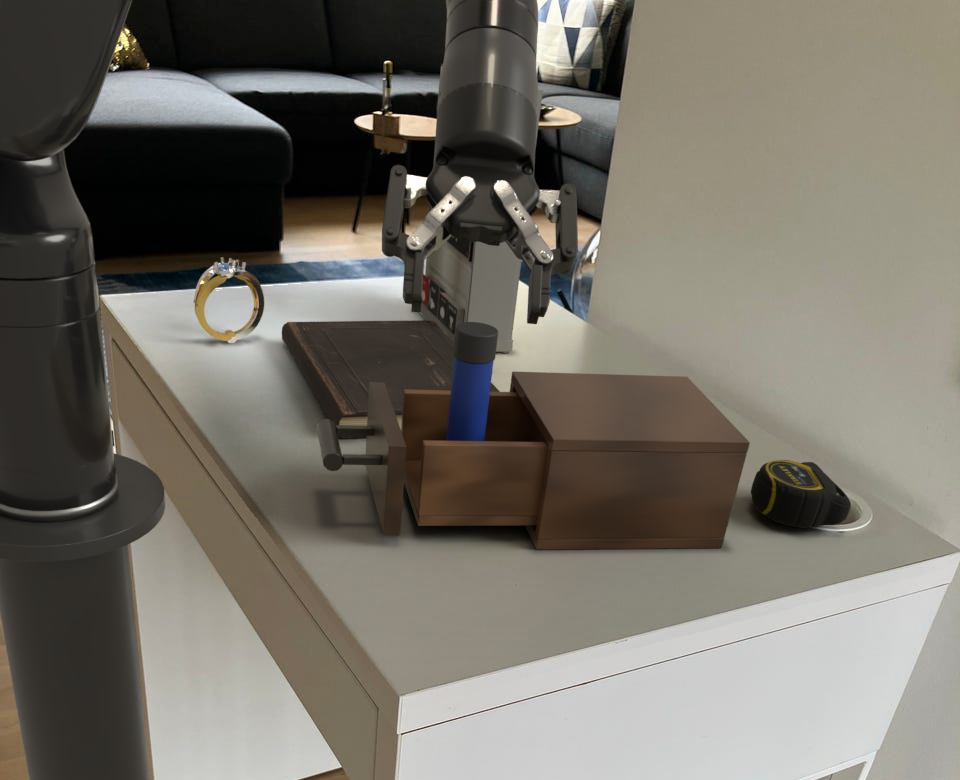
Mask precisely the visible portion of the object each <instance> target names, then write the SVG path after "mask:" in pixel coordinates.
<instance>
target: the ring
mask: <svg viewBox="0 0 960 780" xmlns="http://www.w3.org/2000/svg"><path fill="white" fill-rule="evenodd" d="M239 264H240V260H239V259H233V258H231V257H229V258H228V262H225V257H220V262H218V261H215V262H214V263H213V265H212V266H210V267H209V268H207V269H206V270H205V271H204V272H203V273H202V274H201V275H200V278H199V279H198V281H197V284H196V287H195V291H194V295H193V311H194V315H195V318H196V320H197V322H198V323H199V326H201V328H202V329H203V330H204V332H205V333H207V334H208V335H209V336H210V337H212V338H214V339H216V340H218V341H223V342H227V343H228V344H234V343H236V342H237V341H238V340H242V339H243V338H246V337H247V336H249V335H250V334H251V333H252V332H253V331H254V330H255V329H256V327H257V326H258V325H259V323H260V322H261V320H262V318H263V314H264V309H265V297H264V296H265V295H264V291H263V288H262V285H261V284H260V281H259V280H258V278H257V277H256V276H255V275H254V274H253V273H251V272H249V271H248V270H246V265H247V262H246V261H245V262H244V261H242V264H241V266H240V265H239ZM215 274H216V275H217V276H214V275H215ZM213 276H214V277H213ZM233 277H235V278H237V279H238V280H241V281H242V282H243V283H245V284H246V285H247V287H248V289H249V290H250V292H251V294H252V299H253V310H252V314H251V316H250V318H249V320H248V322H247V323H246V324H244V326H243V327H241V328H239V329H237V330H234V331H233V330H232V329H226V330H225V331H224V332H223V331H222V332H221V331H218V330H216V329H214V328H212V327H211V326H210V325H209V323H208V321H207V318H206V315H205V306H206V302H207V301H208V298H209V297H210V295H211V294H212V293H213V292H214V291H215V290H216V288H218V287H219V286H220V285H222V284H224V283H225V282H226V281H227V279H230V278H233Z"/></svg>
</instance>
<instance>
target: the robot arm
mask: <svg viewBox="0 0 960 780" xmlns="http://www.w3.org/2000/svg"><path fill="white" fill-rule="evenodd" d="M133 1H134V0H0V515H3V516H5V517H8V518H12V519H16V520H22V521H29V522H59V521H67V520H73V519H78V518H82V517H86V516H89V515H92V514H94V513H97V512H99V511H101V510H103V509H105V508H106V507H108V506H109V505H110V504H111V503H112V502H113V501H114V500H115V499H116V497H117V495H118V490H119V489H118V479H117V476H116V466H115V462H114V453H115V452H114V447H115V435H114V434H115V433H114V430H113V429H112V421H111V411H110V410H111V409H110V400H109V390H108V389H109V388H108V380H107V379H108V378H107V370H106V369H107V368H106V359H105V347H104V340H103V339H104V338H103V327H102V326H103V325H102V317H101V315H102V314H101V307H100V297H99V286H98V275H97V265H96V264H97V263H96V255H95V254H96V253H95V246H94V245H95V244H94V236H93V230H92V224H91V222H90V219H89V217H88V215H87V213H86V211H85V210H84V209H85V208H83V206H82V204H81V202H80V199H79V198H78V196H77V194H76V192H75V189H74V187H73V184H72V181H71V178H70V175H69V171H68V167H67V162H66V161H67V160H66V155H65V149H66V148H67V147H68V146H69V145H71V144H72V143H73V142H74V141H75V140H76V139H77V138H78V136H79V135H80V134H81V132H83V130H84V129H85V127H86V125H87V124H88V122H89V120H90V119H91V116H92V114H93V112H94V110H95V108H96V105H97V103H98V101H99V98H100V95H101V92H102V91H103V87H104V84H105V82H106V78H107V75H108V73H109V69H110V66H111V63H112V61H113V59H114V58H113V57H114V55H115V51H116V49H117V46H118V43H119V40H120V38H121V36H122V31H123V30H124V26H125V23H126V20H127V18H128V15H129V11H130V9H131V6H132V3H133ZM538 6H539V4H538V0H445V7H446V8H445V9H446V26H445V27H446V28H445V40H444V41H445V42H444V56H443V63H442V64H443V67H442V71H441V70H440V72H441V76H440V75H439V84H438V95H437V101H436V124H435V137H434V138H435V139H434V150H433V151H434V153H433V154H434V155H433V163H434V166H433V165H432V170H431V172H430V173H429V174H428V176H427V177H426V176H420V175H413V174H408V170H407V168H406V167H405V166H404V165H402V164H395V165H393V166H392V167H391V168H390V174H389V178H388V179H389V180H388V184H387V185H388V186H387V193H386V200H385V207H384V213H383V221H382V228H381V252H382V254H383V255H384V256H386V257H388V258H393V257H396V258H398V259H400V260H401V261H402V262H403V264H404V268H403V285H402V299H403V302H404V304H405V305H411V309H410V312H411V313H419V314H421V302H422V288H423V274H425V273H424V271H425V261H426V258H427V257H428V256H429V255H430V254H431V253H432V252H433V251H434V250H435V251H437V250H438V249H439V248H440V247H441V246H442V245H443V244H444V243H445V242H446V241H447V240H448V239H449V238H450V237H451V236H453V237H455V238H457V239H458V242H463V243H472V242H482V243H485V244H487V245H493V246H500V243H503V242H506V243H507V245H508V246H509V247H510V249H511V250H512V252H513V253H514V254H515V256H516V257H517V258H518V259H521V260H522V261H521V262H523V264H524V265H525V267H526V268H527V269H528V270H529V272H530V274H529V278H528V293H527V311H526V324H528V325H537V324H538V322H539V319H540V318H545V316H546V313H547V311H548V309H549V306H550V303H551V285H552V284H551V282H552V276H553V275H556V274H561V275H563V276H565V275H567V276H568V275H569V274H571V273H572V271H573V268H574V263H575V260H576V258H577V257H578V253H579V233H578V231H579V230H578V198H577V196H578V195H577V193H578V192H577V187H576V186H575V185H574V184H572V183H568V182H566V183H563V184H562V185H561V187H560V189H558V190H557V189H556V190H555V189H540V187H539V185H538V184H537V182H536V179H535V164H536V149H535V146H536V147H537V141H536V126H537V105H538V88H539V81H538V73H537V71H538V70H537V53H538V52H537V51H538V32H539V7H538ZM420 197H425V200H426V202H427V204H429V207H430V206H431V207H432V210H431V211H430V210H429V211H428V213H427V214H426V216H425V217H424V218H423V219H424V220H423V221H422V222H421V224H419V225H418V226H417V228H415V229H414V230H413V232H411V233H410V235H409V234H407V233H405V232H402V227H403V226H402V225H403V218H404V211H405V209H410V208H411V207H414V205H415V204H416V201H417V199H418V198H420ZM537 209H541V210H543V211H544V212H545V214H546V218H547V219H548V221H549V223H551V224H555V229H554V230H555V248H552V249H551V248H550V247H549V246H548V244H547V242H546V240H544V238H543V237H542V236H541V234H540V230H539V228H538V225H537V223H536V222H535V221H534V219H533V218H532V216H533V215H534V214H535V212H537Z"/></svg>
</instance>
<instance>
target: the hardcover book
mask: <svg viewBox="0 0 960 780" xmlns="http://www.w3.org/2000/svg"><path fill="white" fill-rule="evenodd" d="M281 340H282V342H283V344H284V345H285V347H286V349H287V350H288V352H289V353H290V355H291V357H292V358H293V360H294V362H295V364H296V365H297V368H298V369H299V370H300V372H301V374H302V375H303V377H304V379H305V380H306V382H307V384H308V385H309V387H310V389H311V391H312V393H313V394H314V396H315V397H316V399H317V401H318V403H319V404H320V407H321V408H322V410H323V411H324V413H325V414H326V416H327V419H330V420H332V421H333V422H334V423H335V426H336V425H361V426H367V417H368V396H369V382H385V385H386V388H387V391H388V394H389V397H390V400H391V403H392V406H393V409H394V412H395V414H396V417H397V420H398V423H399V426H400V429H401V423H402V408H403V393H404V389H410V390H450V391H451V384H452V373H453V363H454V355H453V347H454V342H453V341H452V340H451V339H450V338H449V337H448V336H447V334H446V333H445V332H444V331H443V330H442V329H441V328H440V327H439V326H438V325H437V324H436V323H435V322H434V321H433V320H427V319H426V320H423V319H419V320H415V319H414V320H343V321H342V320H339V321H338V320H337V321H336V320H335V321H334V320H333V321H332V320H331V321H329V320H327V321H323V320H322V321H287V322H285V323H284V324H283V325H282V327H281ZM490 392H501V391H500V390H499V389H498V388H497V387H496V386H495V385H494V383H493V382H491V387H490ZM338 437H340V438H341V439H344V440H346V439H347V440H348V439H366V437H367V436H346V435H338Z"/></svg>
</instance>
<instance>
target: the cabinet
mask: <svg viewBox="0 0 960 780" xmlns="http://www.w3.org/2000/svg"><path fill="white" fill-rule="evenodd" d="M509 392H518V394H519V396H520V398H521V399H522V401H523V403H524V404H525V406H526V408H527V409H528V411H529V413H530V414H531V416H532V418H533V420H534V421H535V423H536V425H537V426H538V428H539V430H540V431H541V433H542V435H543V436H544V438H545V440H546V442H547V443H548V445H549V448H548V455H547V461H546V468H545V474H544V481H543V487H542V494H541V501H540V507H539V514H538V520H537V525H524V527H525V529H526V531H527V533H528V535H529V538H530V539H531V541H532V543H533V546H534V548H535V549H536V550H623V549H625V550H629V549H631V550H632V549H633V550H634V549H635V550H637V549H643V550H644V549H647V550H648V549H721V548H723V545H724V541H725V536H726V533H727V529H728V526H729V522H730V518H731V514H732V509H733V506H734V503H735V499H736V495H737V492H738V489H739V484H740V480H741V477H742V473H743V469H744V466H745V462H746V458H747V453H748V451H749V448H750V444H751V442H750V441H749V439H748V438H746V437H745V436H744V434H743V433H742V432H741V431H740V430H739V429H738V428H737V427H736V426H735V425H734V424H733V423H732V422H731V421H730V420H729V419H728V418H727V417H726V415H724V413H722V411H720V409H719V408H718V407H717V406H716V405H715V404H714V403H713V402H712V401H711V399H709V398H708V396H706V395H705V394H704V393H703V392H702V390H700V388H699V387H698V386H697V385H696V384H695V383H694V382H693V381H692V380H691V379H690V378H689V377H688V376H682V375H681V376H677V375H647V374H646V375H645V374H609V373H581V372H580V373H577V372H575V373H574V372H543V371H542V372H541V371H540V372H539V371H511V379H510V387H509Z"/></svg>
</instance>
